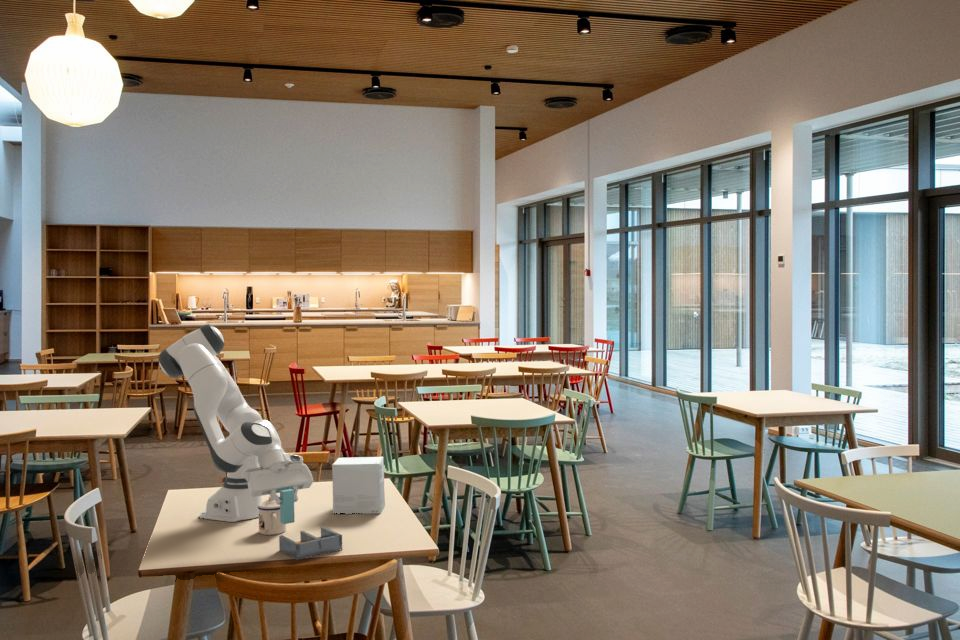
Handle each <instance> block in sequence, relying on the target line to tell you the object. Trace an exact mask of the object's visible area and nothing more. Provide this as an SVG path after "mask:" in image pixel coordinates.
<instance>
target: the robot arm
mask: <svg viewBox="0 0 960 640" xmlns="http://www.w3.org/2000/svg"><path fill="white" fill-rule="evenodd" d="M225 344H226V343H225V339H224V336H223V334H222V332H221V331H220V330H219V329H218V328H217V327H215V326H214V325H212V324H209V323H208V324H203V325H201V326H199V328H198V329H197V328H196V329H195V330H192V331H191V332H189V333H187V334H185V335H184V336H182V337H181V338H180V339H178V340H177V341H175V342H173V343H172V344H171V345H169V346H168V347H167V348H164V349H163V350H162V351H161V352H159V354H158V358H157V360H158V364H159V368H160V369H161V371H162V372H163V373H164V374H165V375H167V376H168V377H169V378H171V379H177V378H181V377H183V376H184V378H185V379H186V381H187V383H188V384H189V386H190V389H191V391H192V396H193V406H192V407H193V411H194V415H195V418H196V419H197V420H196V421H197V422H198V425H199V427H200V430H201V432H202V435H203V437H204V439H205V442H206V444H207V447H208V448H209V449H208V450H209V452H210V457H211V461H212V463H213V466H215V468H216V469H217V470H218V471H220V472H223V473H226V476H224V477H223V478H221V479H220V482H219V483H222V486H221V488H219V489H218V490H217V491H215V493H213V494H212V495H210V497H208V499H207V502H206V505H205V510H203V511H201V512H200V513H199V517H200V518H199V519H203V518H204V519H205V520H212V521H222V522H229V523H235V522H239V521H244V520H250V519H256V518H259V509H258V505H259V504H260V503H262V502H263V500H262V496H267V495H269V496H270V497H271V498H272V499H274V500H275V501H276V503H277V505H280V504H282V503H283V500H282V497H280V495H278V494H280V490H285V489H293V490H294V503H297V502H298V500H299V497H298V492H299V490H303V489H310V488H311V486H312V484H313V482H314V478H313V474H312V472H311V470H310V468H309V467H308V465H307V464H306V463H304V458H303V456H302V455H297V454H291V453H286V452H285V450H284V448H283V447H282V441H281V438H280V435H279V434H278V432H277V429H276V427H275V426H274V425H273V423H272V422H271V421H269V420H267V419H263V418H262V416H261V414H260V412H258V411H257V410H256V409H255V408H252V407H251V406H250V405H249V404H248V402H247V401H246V399H245V398H244V396H243V394H242V392H241V390H240V388H239V386H238V385H237V383H236V382H235V380H234V379H233V377H232V376H231V374H230V373H229V371H228V370H227V368H226V367H225V366H224V364H223V363H222V361H221V360H220V358H218V357H217V355H220V354H221V352H222V351H223V349H224V348H225ZM216 354H217V355H216ZM217 418H218V419H217ZM218 420H219V421H220V423H221V424H222V426H223V427H224V429H225V430H226V431H227V432H228V433H229V435H228V436H227V437H226V438H225V436H224V434H223V431H222V428H221V426H220V424H219V421H218Z"/></svg>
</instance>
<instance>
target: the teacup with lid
mask: <svg viewBox="0 0 960 640" xmlns="http://www.w3.org/2000/svg"><path fill="white" fill-rule="evenodd" d="M258 509H259V517H258V533H259V534H260V535H263V536H264V535H265V536H274V535H281V534H282V533H285V532H286V530H287V524H282V523H280V505H277V503H276V501H275V500H274V499H272V498H271V497H270V495H269V496H268V499H265V500H264V501H262V503H260V504H259V505H258Z"/></svg>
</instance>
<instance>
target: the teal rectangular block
mask: <svg viewBox="0 0 960 640" xmlns="http://www.w3.org/2000/svg"><path fill="white" fill-rule="evenodd" d="M279 497H282V500H283V503H282V504H280V523H282V524H286V525H287V524H292V523H293V524H294V523H295V502H294V490H293V489H285V490H280V493H279Z"/></svg>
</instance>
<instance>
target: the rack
mask: <svg viewBox="0 0 960 640" xmlns="http://www.w3.org/2000/svg"><path fill="white" fill-rule="evenodd" d="M299 534H300V535H299V536H300V540H299V541H294V540H292V539H290V538H289V537H286V536H285V535H283V534H282V535H281V534H280V535H279V536H278V543H279V551H280V552H281V553H284V554H286V555H287V556H289V557H291V558H292V557H293V558H292V559H294V558H295V559H294V560H296V561H299V560H303V559H302V558H304V559H307V558H306V557H309V558H312V557H311V556H313V557H316V556H315V555H317V556H320V554H322V555H325V554H324V553H326V554H329V553H328V552H330V553H333V552H332V551H335V552H337V551H336V550H339V551H341V550H340V549H342V550H343V535H342V534H341V533H338V532H336V531H334V530H332V529H330V528H327V527H326V526H320V536H318V537H316V536H315V535H312V534H310V533H309V532H307V531H304V530H300V533H299Z"/></svg>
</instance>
